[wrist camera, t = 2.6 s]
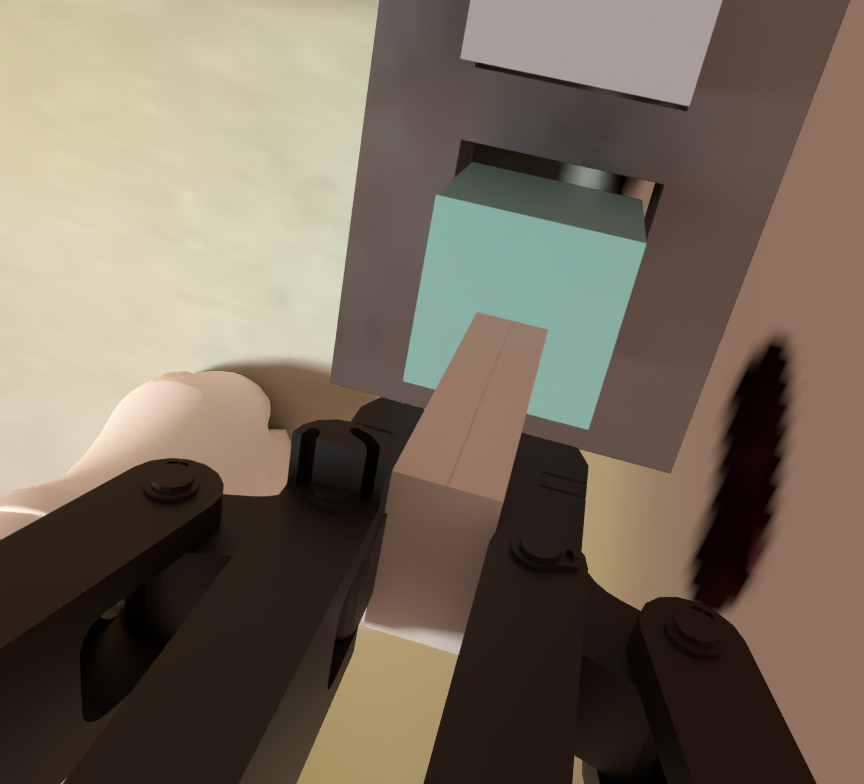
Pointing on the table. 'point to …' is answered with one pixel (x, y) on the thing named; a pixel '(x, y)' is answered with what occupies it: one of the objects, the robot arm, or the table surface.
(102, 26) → the table surface
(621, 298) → the teal cube
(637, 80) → the grey cube
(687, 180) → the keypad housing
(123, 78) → the table surface
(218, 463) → the water bottle
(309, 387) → the table surface
